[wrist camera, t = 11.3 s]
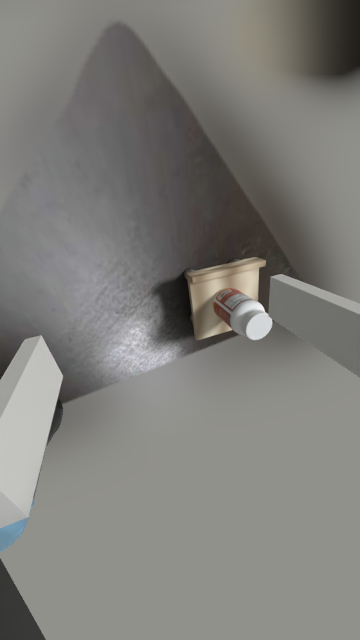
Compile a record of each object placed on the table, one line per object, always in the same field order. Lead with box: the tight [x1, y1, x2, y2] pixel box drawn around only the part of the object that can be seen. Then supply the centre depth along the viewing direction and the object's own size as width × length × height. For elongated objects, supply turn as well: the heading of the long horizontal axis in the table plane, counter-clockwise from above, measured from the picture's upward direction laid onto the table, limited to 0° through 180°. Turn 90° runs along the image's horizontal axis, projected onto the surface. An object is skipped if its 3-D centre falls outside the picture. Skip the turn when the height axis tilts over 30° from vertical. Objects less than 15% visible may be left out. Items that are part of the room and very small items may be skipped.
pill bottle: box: [213, 287, 272, 340], centre depth 39 cm, size 6×6×11 cm
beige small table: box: [184, 257, 266, 340], centre depth 46 cm, size 14×14×8 cm
